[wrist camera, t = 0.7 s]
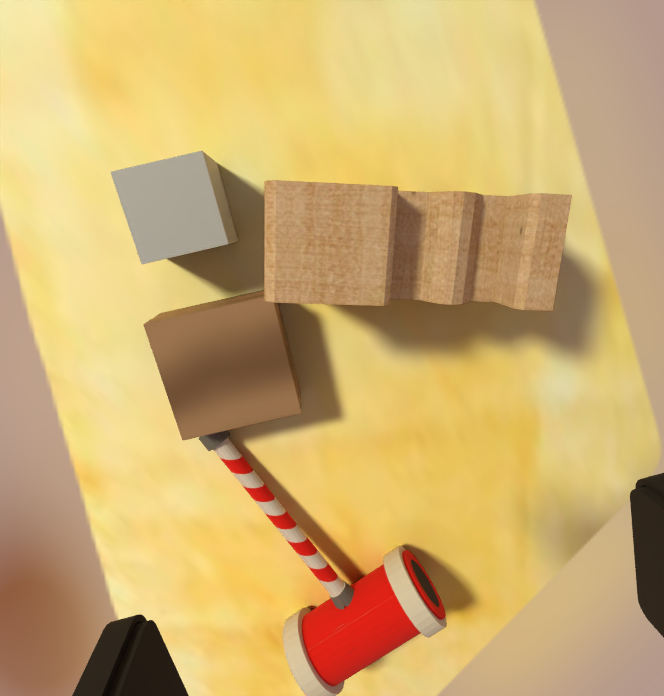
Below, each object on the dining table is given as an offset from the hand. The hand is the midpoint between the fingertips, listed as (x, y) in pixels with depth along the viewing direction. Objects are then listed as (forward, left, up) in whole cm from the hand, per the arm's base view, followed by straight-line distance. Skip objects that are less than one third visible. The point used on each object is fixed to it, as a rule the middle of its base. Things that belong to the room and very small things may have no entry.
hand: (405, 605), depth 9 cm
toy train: (-5, +6, -25) cm, 26 cm away
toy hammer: (+18, -5, -25) cm, 31 cm away
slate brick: (-10, -7, -25) cm, 27 cm away
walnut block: (0, -7, -25) cm, 26 cm away
